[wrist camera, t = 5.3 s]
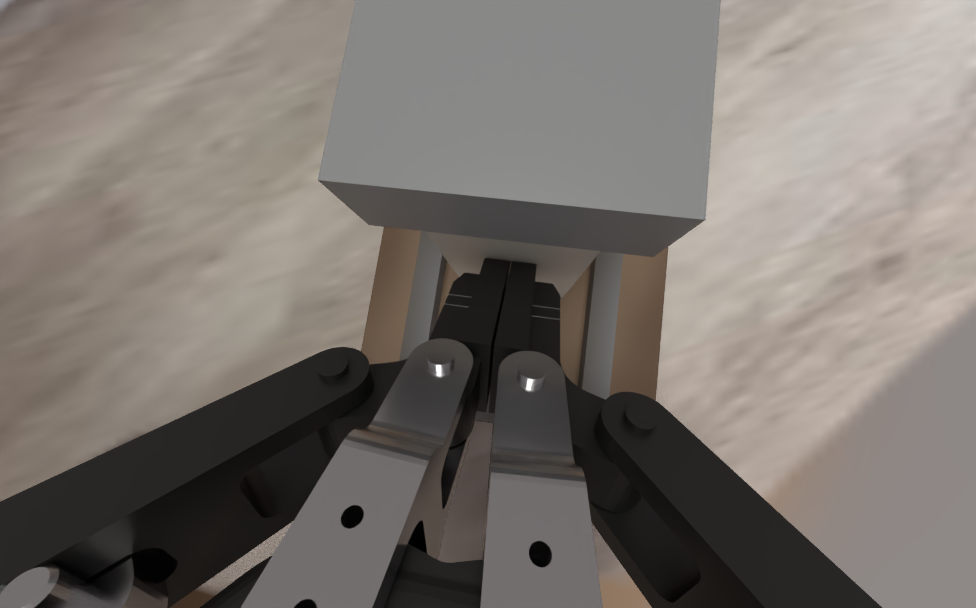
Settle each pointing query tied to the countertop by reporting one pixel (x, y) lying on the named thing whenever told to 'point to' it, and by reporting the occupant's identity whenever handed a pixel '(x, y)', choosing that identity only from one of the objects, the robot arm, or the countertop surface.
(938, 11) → the countertop surface
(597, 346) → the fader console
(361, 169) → the fader tab
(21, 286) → the countertop surface
